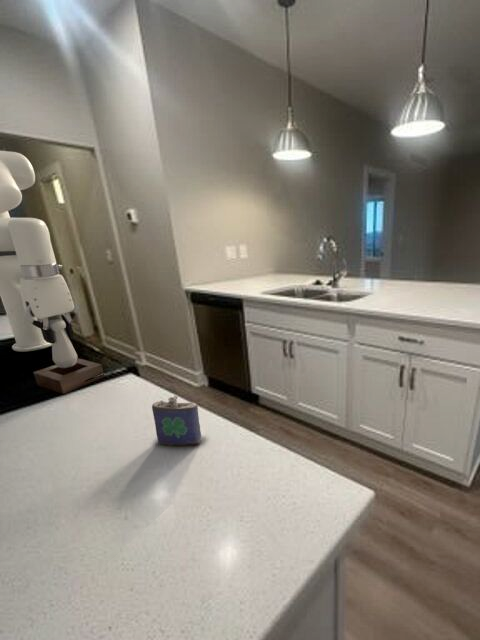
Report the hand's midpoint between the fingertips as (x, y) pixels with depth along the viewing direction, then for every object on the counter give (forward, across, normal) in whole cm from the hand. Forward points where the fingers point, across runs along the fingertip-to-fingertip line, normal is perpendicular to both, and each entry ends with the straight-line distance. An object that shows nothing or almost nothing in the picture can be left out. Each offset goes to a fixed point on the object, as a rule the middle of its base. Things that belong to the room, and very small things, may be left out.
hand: (60, 339), depth 94 cm
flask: (+13, +8, +49) cm, 51 cm away
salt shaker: (+8, 0, 0) cm, 8 cm away
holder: (+13, 0, 0) cm, 13 cm away
